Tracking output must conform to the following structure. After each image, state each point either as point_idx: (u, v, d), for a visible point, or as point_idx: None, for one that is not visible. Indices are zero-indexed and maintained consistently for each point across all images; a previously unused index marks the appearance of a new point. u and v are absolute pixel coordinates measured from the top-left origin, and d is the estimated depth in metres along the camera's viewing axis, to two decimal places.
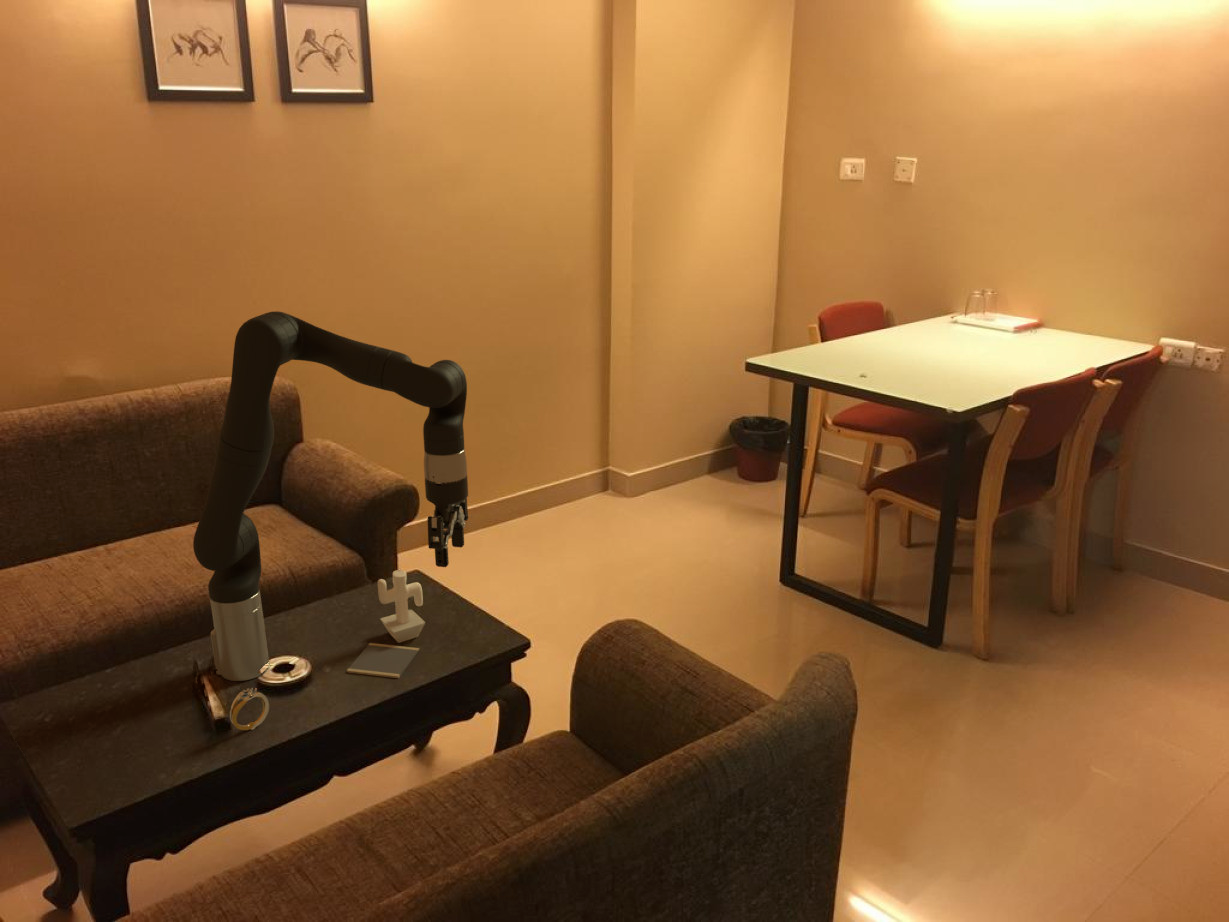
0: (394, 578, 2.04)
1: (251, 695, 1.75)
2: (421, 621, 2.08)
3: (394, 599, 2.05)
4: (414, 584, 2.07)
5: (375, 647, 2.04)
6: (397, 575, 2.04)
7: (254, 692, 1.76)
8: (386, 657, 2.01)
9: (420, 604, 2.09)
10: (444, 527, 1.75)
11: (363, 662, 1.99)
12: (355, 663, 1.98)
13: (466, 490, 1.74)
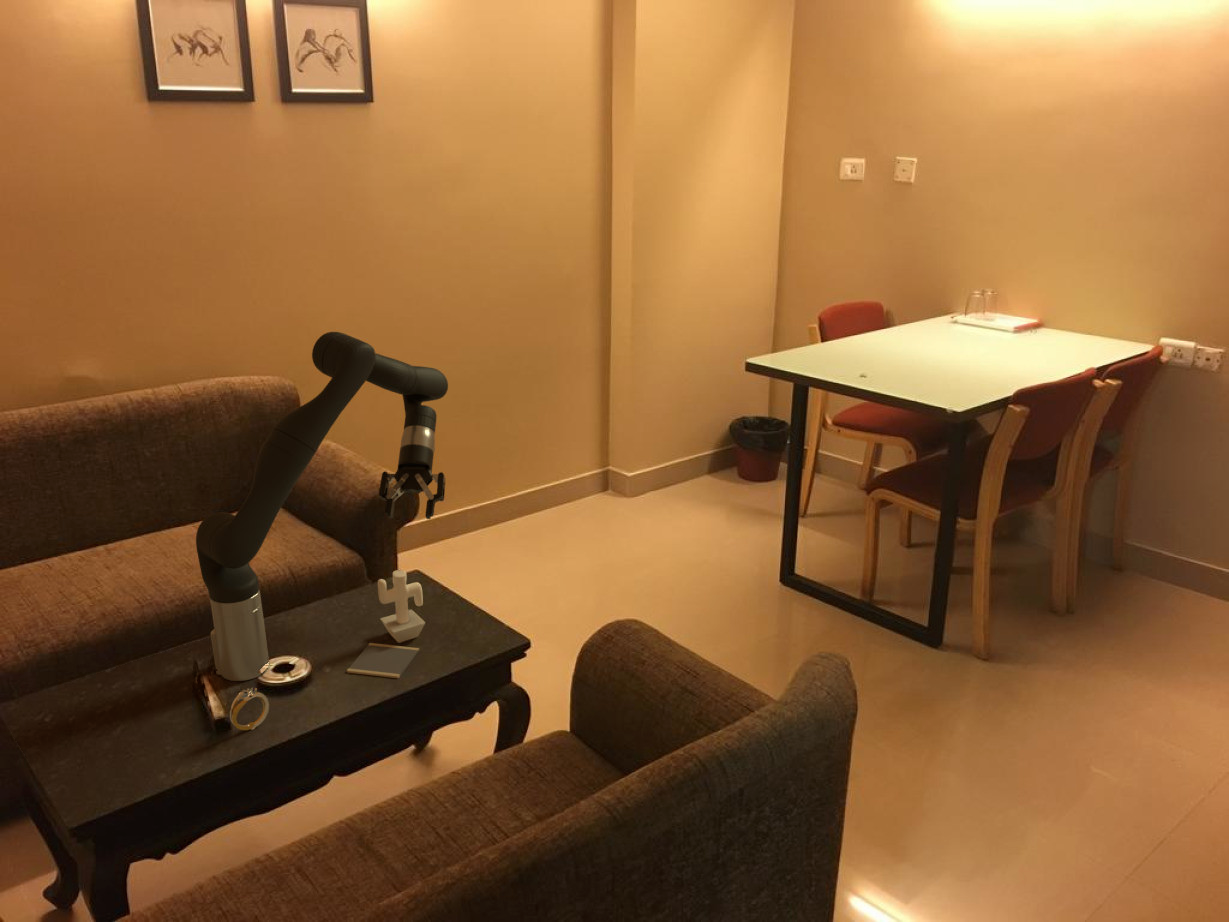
0: (394, 578, 2.04)
1: (251, 695, 1.75)
2: (421, 621, 2.08)
3: (394, 599, 2.05)
4: (414, 584, 2.07)
5: (375, 647, 2.04)
6: (397, 575, 2.04)
7: (254, 692, 1.76)
8: (386, 657, 2.01)
9: (420, 604, 2.09)
10: None
11: (363, 662, 1.99)
12: (355, 663, 1.98)
13: None
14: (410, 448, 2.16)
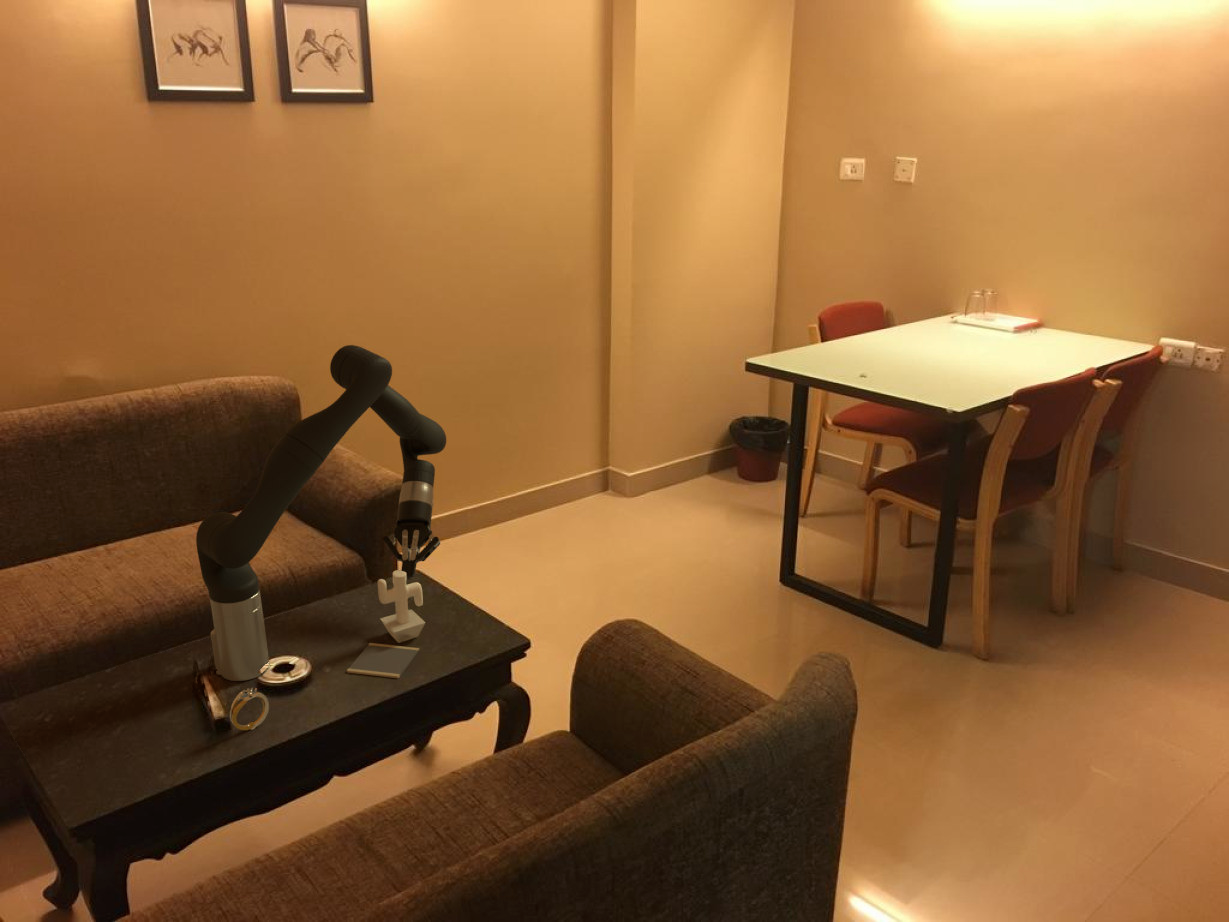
0: (394, 578, 2.04)
1: (251, 695, 1.75)
2: (421, 621, 2.08)
3: (394, 599, 2.05)
4: (414, 584, 2.07)
5: (375, 647, 2.04)
6: (397, 575, 2.04)
7: (254, 692, 1.76)
8: (386, 657, 2.01)
9: (420, 604, 2.09)
10: (422, 544, 2.16)
11: (363, 662, 1.99)
12: (355, 663, 1.98)
13: None
14: (409, 504, 2.16)
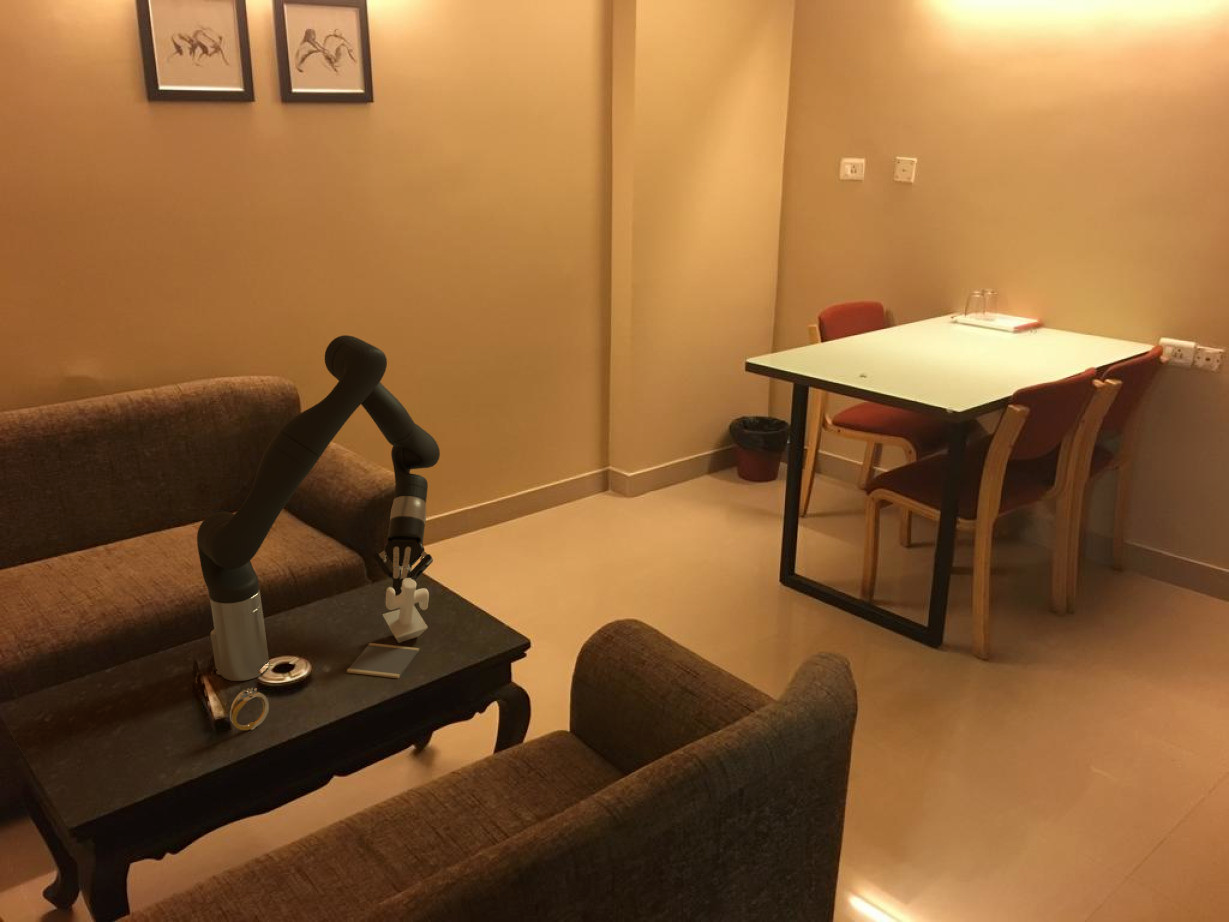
0: (404, 588, 2.00)
1: (251, 695, 1.75)
2: (423, 625, 2.07)
3: (400, 606, 2.02)
4: (422, 591, 2.04)
5: (375, 647, 2.04)
6: (407, 586, 2.00)
7: (254, 692, 1.76)
8: (386, 657, 2.01)
9: (424, 609, 2.07)
10: (414, 562, 2.09)
11: (363, 662, 1.99)
12: (355, 663, 1.98)
13: None
14: (400, 520, 2.09)
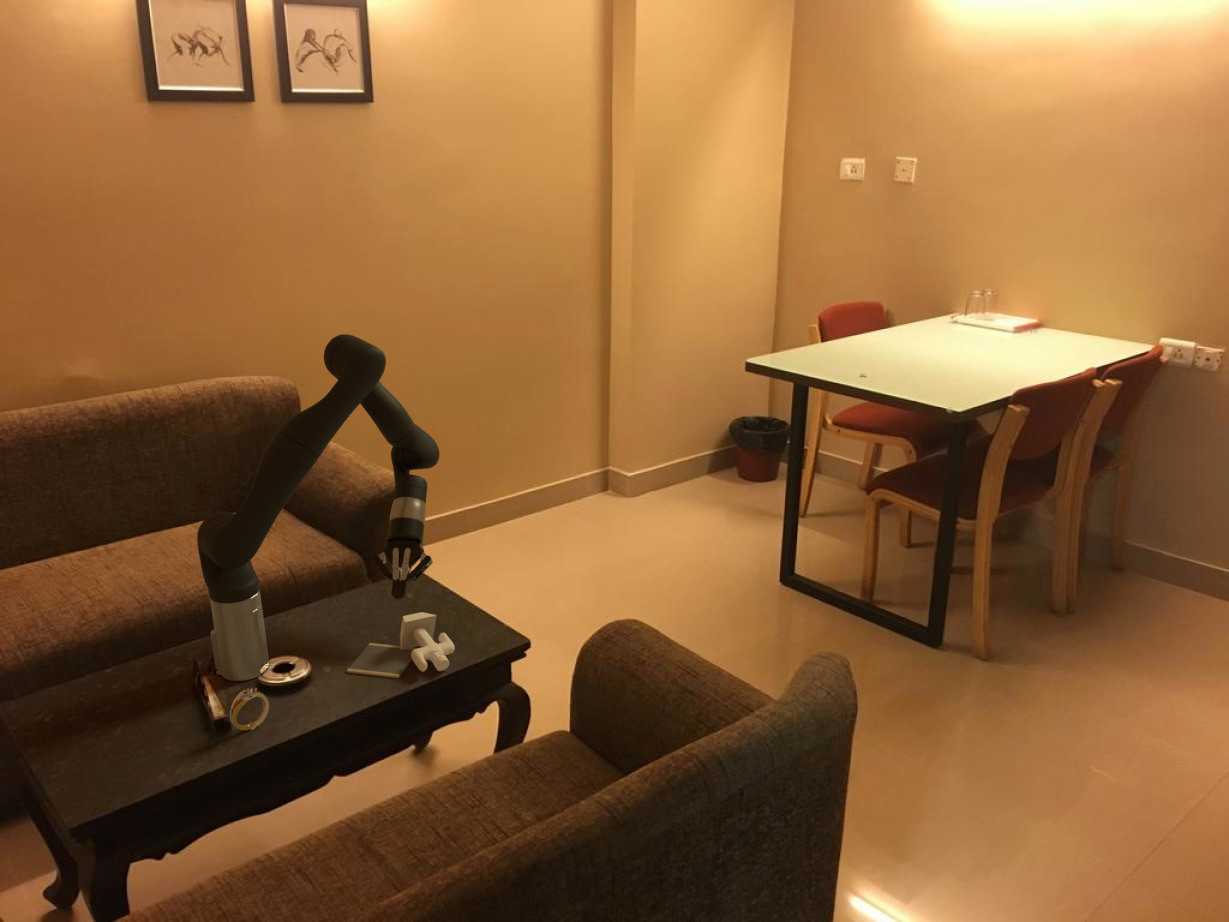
0: (435, 667, 1.96)
1: (251, 695, 1.75)
2: None
3: None
4: (449, 653, 2.00)
5: (375, 647, 2.04)
6: (439, 669, 1.96)
7: (254, 692, 1.76)
8: (386, 657, 2.01)
9: None
10: (414, 563, 2.08)
11: (363, 662, 1.99)
12: (355, 663, 1.98)
13: None
14: (400, 521, 2.08)
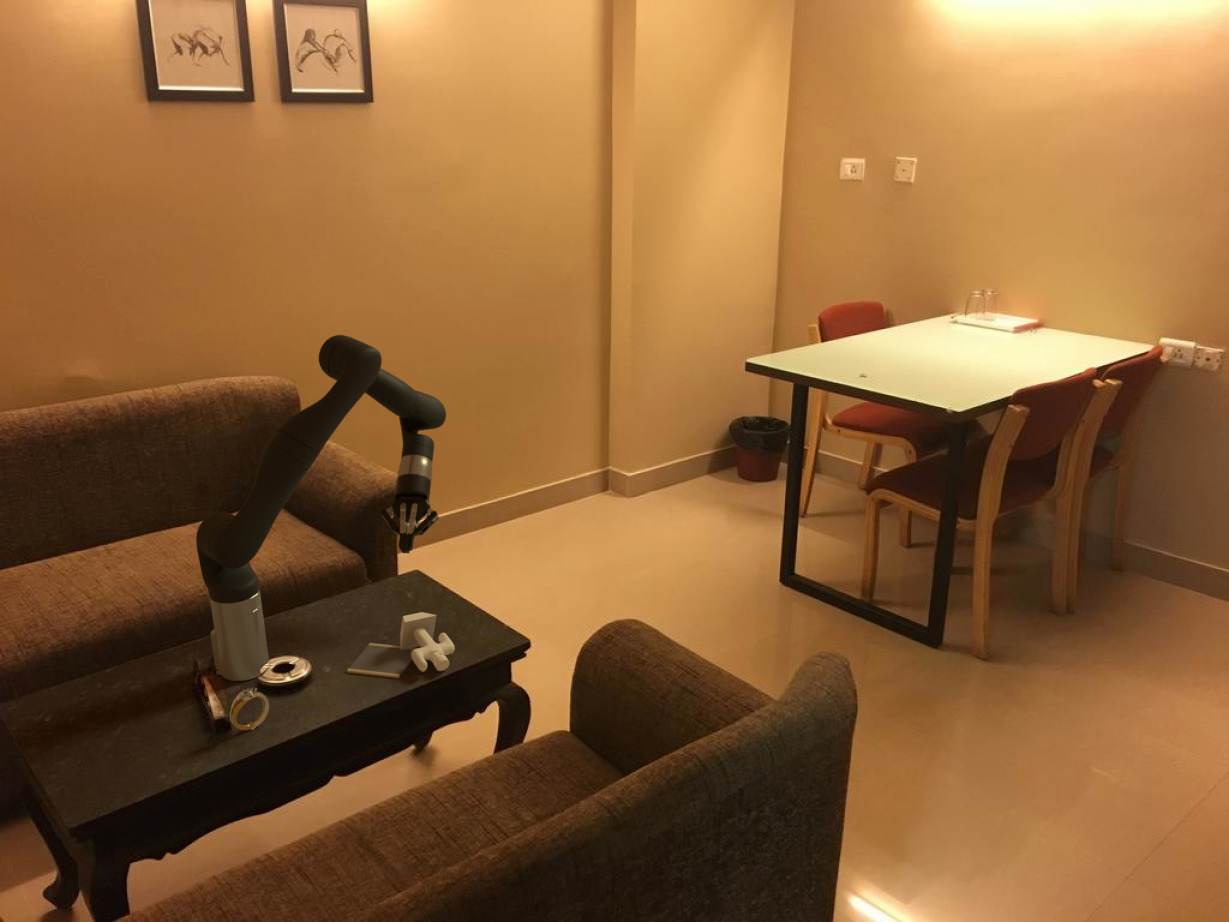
0: (435, 667, 1.96)
1: (251, 695, 1.75)
2: None
3: None
4: (449, 653, 2.00)
5: (375, 647, 2.04)
6: (439, 669, 1.96)
7: (254, 692, 1.76)
8: (386, 657, 2.01)
9: None
10: (420, 518, 2.15)
11: (363, 662, 1.99)
12: (355, 663, 1.98)
13: None
14: (408, 477, 2.15)
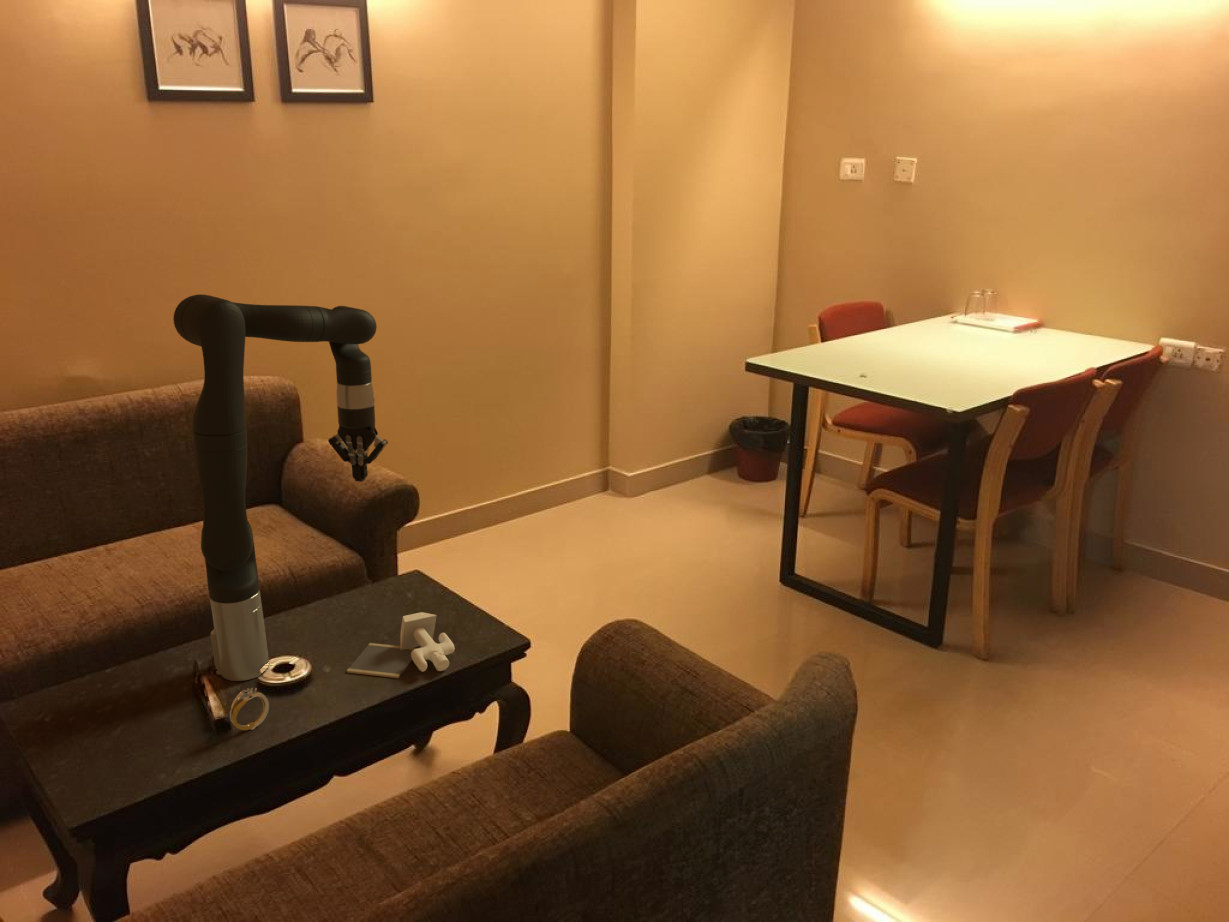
0: (435, 667, 1.96)
1: (251, 695, 1.75)
2: None
3: None
4: (449, 653, 2.00)
5: (375, 647, 2.04)
6: (439, 669, 1.96)
7: (254, 692, 1.76)
8: (386, 657, 2.01)
9: None
10: (369, 446, 2.07)
11: (363, 662, 1.99)
12: (355, 663, 1.98)
13: None
14: (346, 413, 2.01)
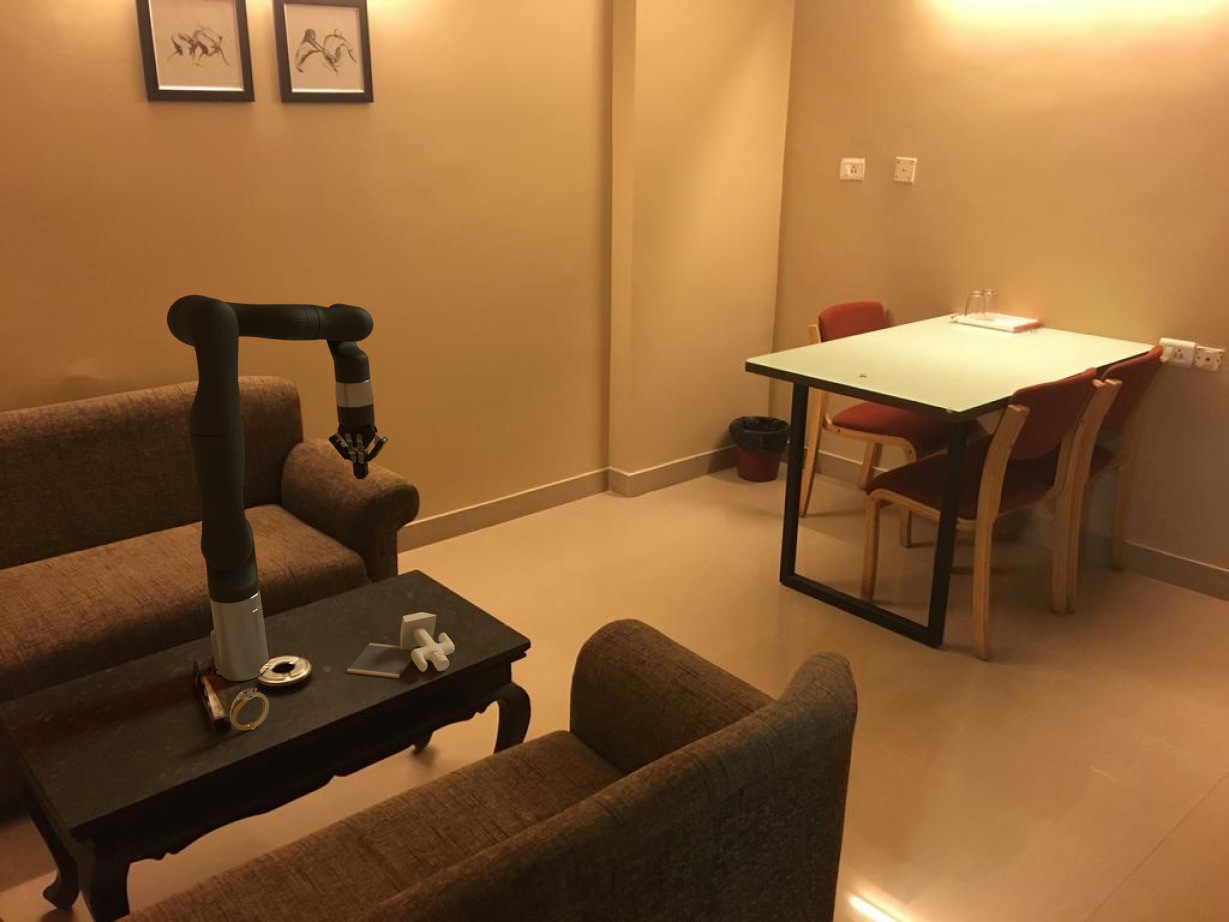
0: (435, 667, 1.96)
1: (251, 695, 1.75)
2: None
3: None
4: (449, 653, 2.00)
5: (375, 647, 2.04)
6: (439, 669, 1.96)
7: (254, 692, 1.76)
8: (386, 657, 2.01)
9: None
10: (369, 443, 2.06)
11: (363, 662, 1.99)
12: (355, 663, 1.98)
13: None
14: (344, 411, 2.01)
